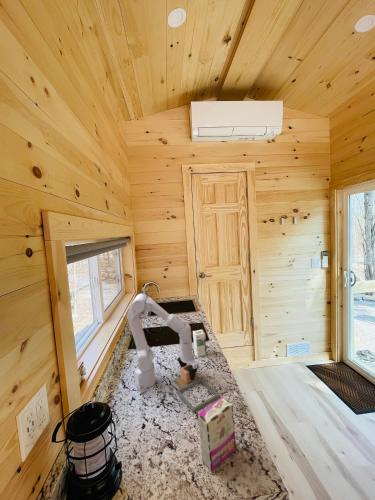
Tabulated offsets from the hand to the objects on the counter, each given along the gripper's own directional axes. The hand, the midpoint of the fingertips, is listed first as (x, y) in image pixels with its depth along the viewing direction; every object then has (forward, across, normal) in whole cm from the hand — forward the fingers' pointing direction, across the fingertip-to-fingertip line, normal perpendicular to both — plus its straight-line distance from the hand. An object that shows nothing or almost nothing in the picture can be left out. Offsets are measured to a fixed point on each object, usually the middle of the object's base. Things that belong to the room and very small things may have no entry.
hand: (188, 375), depth 113 cm
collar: (+2, 0, 0) cm, 2 cm away
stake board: (+3, 0, +2) cm, 3 cm away
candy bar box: (+3, -37, +12) cm, 39 cm away
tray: (+3, -12, +3) cm, 13 cm away
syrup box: (+3, +14, -17) cm, 22 cm away
